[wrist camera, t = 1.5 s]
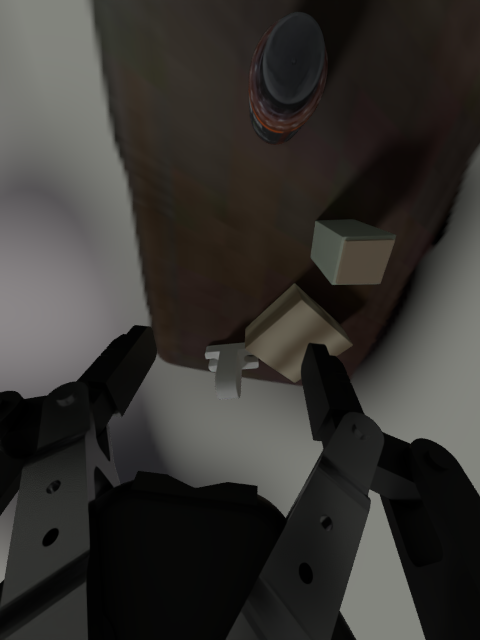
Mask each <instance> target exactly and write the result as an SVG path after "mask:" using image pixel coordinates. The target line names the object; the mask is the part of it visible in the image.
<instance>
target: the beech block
mask: <svg viewBox="0 0 480 640" xmlns="http://www.w3.org/2000/svg"><path fill="white" fill-rule="evenodd" d="M309 343H317V344H325V345H326V347H327V349H328V352H329V355H333V356H337V355H339V354H340V353H342V352H343V351H345V350H346V349H348V348H349V347H351V346H353V344H352V343H351V341H350V339H349V338H348V336H347V335H346V333H345V331H344V330H343V328H342V326H341V325H340V324H339V323H338V322H337V321H336V320H335V319H334V318H333V317H332V316H330V315H329V314H328V313H327V312H326V311H325V310H324V309H323V308H322V307H320V306H319V305H318V304H317V303H316V302H315V301H314V300H313V299H312V298H311V297H309V296H308V295H307V294H306V293H305V292H304V291H303V290H302V289H301V288H300V287H298V286H297V285H296V284H295V283H294V284H293V285H292V286H291V287H290V288H289V289H288V290H287V291H286V292H284V293H283V294H282V295H281V296H280V297H279V298H278V299H277V300H276V301H275V302H274V303H273V304H271V305H270V306H269V307H268V308H267V309H266V310H265V311H264V312H263V313H262V314H261V315H260V316H258V317H257V318H256V319H255V320H254V321H253V322H252V323H251V324H250V325H249V326H248V327H247V328H245V349H246V350H247V351H249V352H250V353H252V354H253V355H254V356H256V357H257V358H259V359H260V360H262V361H263V362H265V363H266V364H268V365H269V366H271V367H272V368H274V369H275V370H277V371H278V372H279V373H281V374H282V375H284V376H285V377H287V378H288V379H290V380H291V381H293V382H294V383H295V382H297V381H298V380H300V379H301V365H302V361H303V358H304V355H305V352H306V349H307V346H308V344H309Z"/></svg>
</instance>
